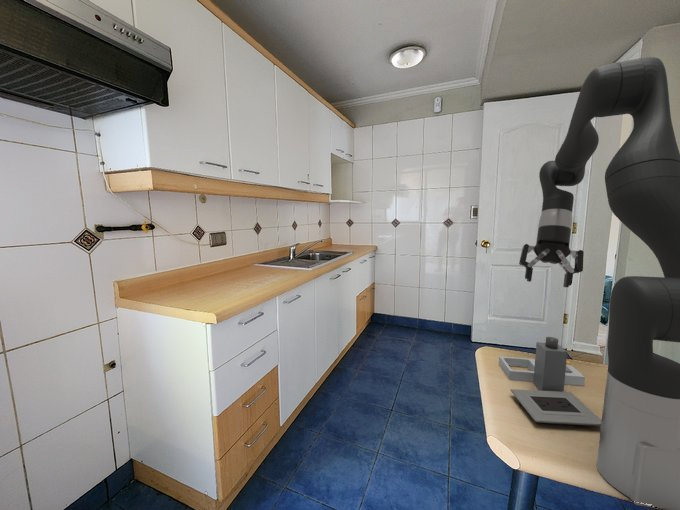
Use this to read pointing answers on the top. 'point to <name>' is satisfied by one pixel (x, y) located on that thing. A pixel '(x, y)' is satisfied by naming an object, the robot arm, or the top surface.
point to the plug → (550, 366)
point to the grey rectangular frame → (570, 375)
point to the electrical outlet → (556, 407)
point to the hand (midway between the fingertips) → (547, 284)
